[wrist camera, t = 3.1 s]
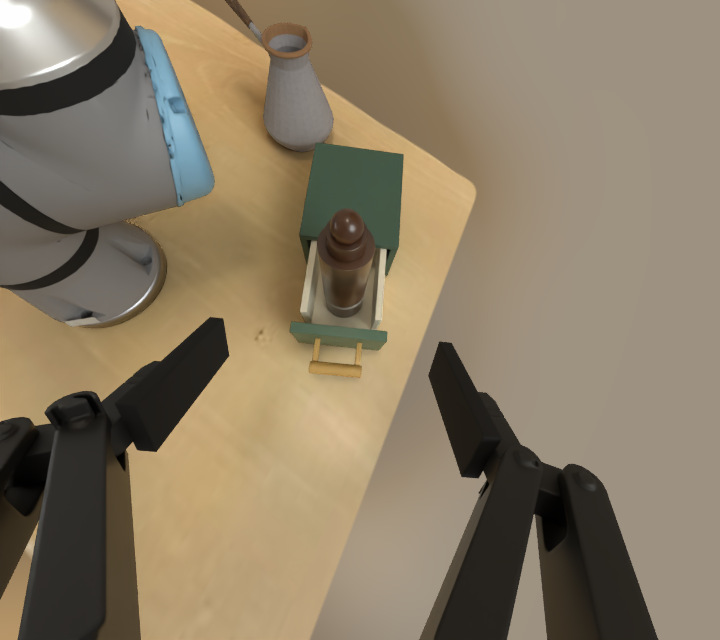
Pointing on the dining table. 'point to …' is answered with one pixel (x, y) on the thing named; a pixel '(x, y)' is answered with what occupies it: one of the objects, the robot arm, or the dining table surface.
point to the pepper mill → (345, 261)
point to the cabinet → (354, 193)
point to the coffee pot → (291, 86)
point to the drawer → (337, 330)
